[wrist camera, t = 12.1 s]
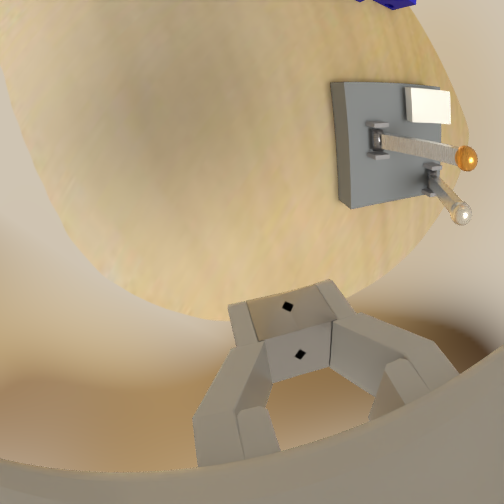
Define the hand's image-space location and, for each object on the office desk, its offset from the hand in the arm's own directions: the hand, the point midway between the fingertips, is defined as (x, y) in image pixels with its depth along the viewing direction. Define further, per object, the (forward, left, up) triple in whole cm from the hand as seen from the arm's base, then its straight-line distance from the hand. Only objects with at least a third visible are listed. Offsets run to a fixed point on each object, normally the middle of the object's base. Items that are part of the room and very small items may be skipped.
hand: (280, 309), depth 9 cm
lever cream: (+9, +33, -28) cm, 44 cm away
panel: (+3, +27, -33) cm, 43 cm away
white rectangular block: (-3, +31, -27) cm, 41 cm away
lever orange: (+2, +22, -28) cm, 36 cm away
